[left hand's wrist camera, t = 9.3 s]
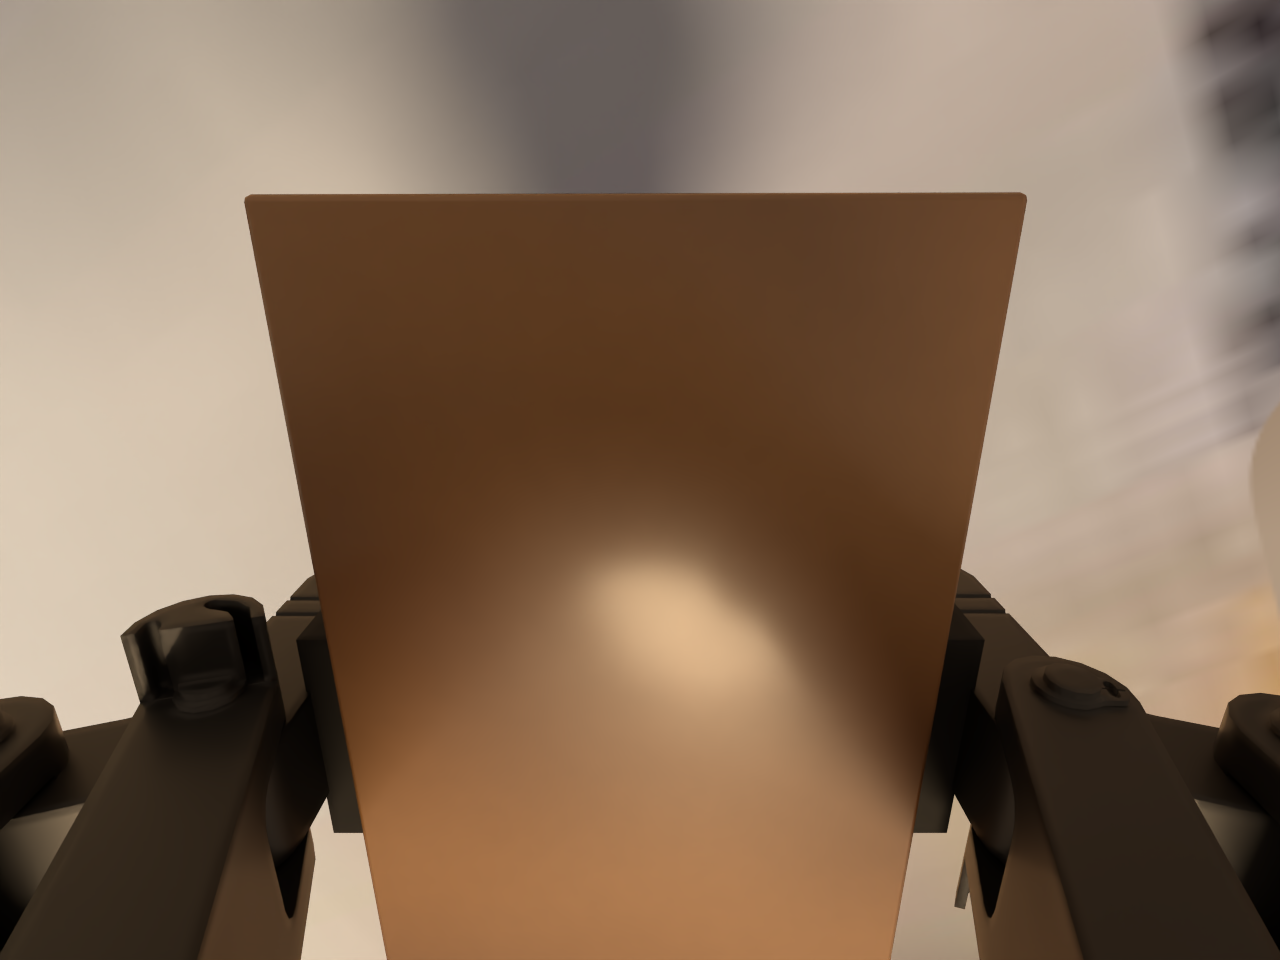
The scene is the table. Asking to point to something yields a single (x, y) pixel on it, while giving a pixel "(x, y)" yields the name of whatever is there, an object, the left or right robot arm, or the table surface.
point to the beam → (637, 548)
